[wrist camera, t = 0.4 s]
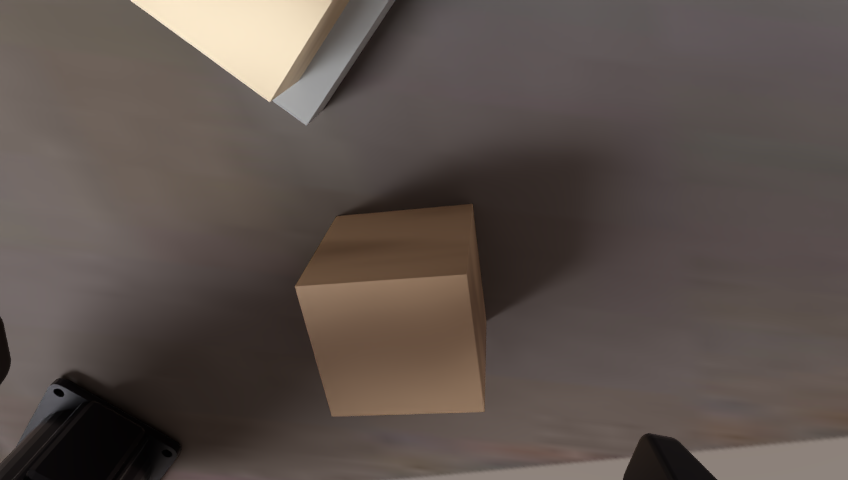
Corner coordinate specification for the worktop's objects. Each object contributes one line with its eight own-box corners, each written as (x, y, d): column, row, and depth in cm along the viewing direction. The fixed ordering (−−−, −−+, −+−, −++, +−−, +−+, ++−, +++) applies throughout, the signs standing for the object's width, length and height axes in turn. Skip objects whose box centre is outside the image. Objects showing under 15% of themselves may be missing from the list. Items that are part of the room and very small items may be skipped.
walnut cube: (486, 319, 22) (484, 411, 18) (363, 327, 23) (331, 416, 19) (472, 202, 20) (466, 274, 16) (337, 215, 21) (294, 286, 16)
